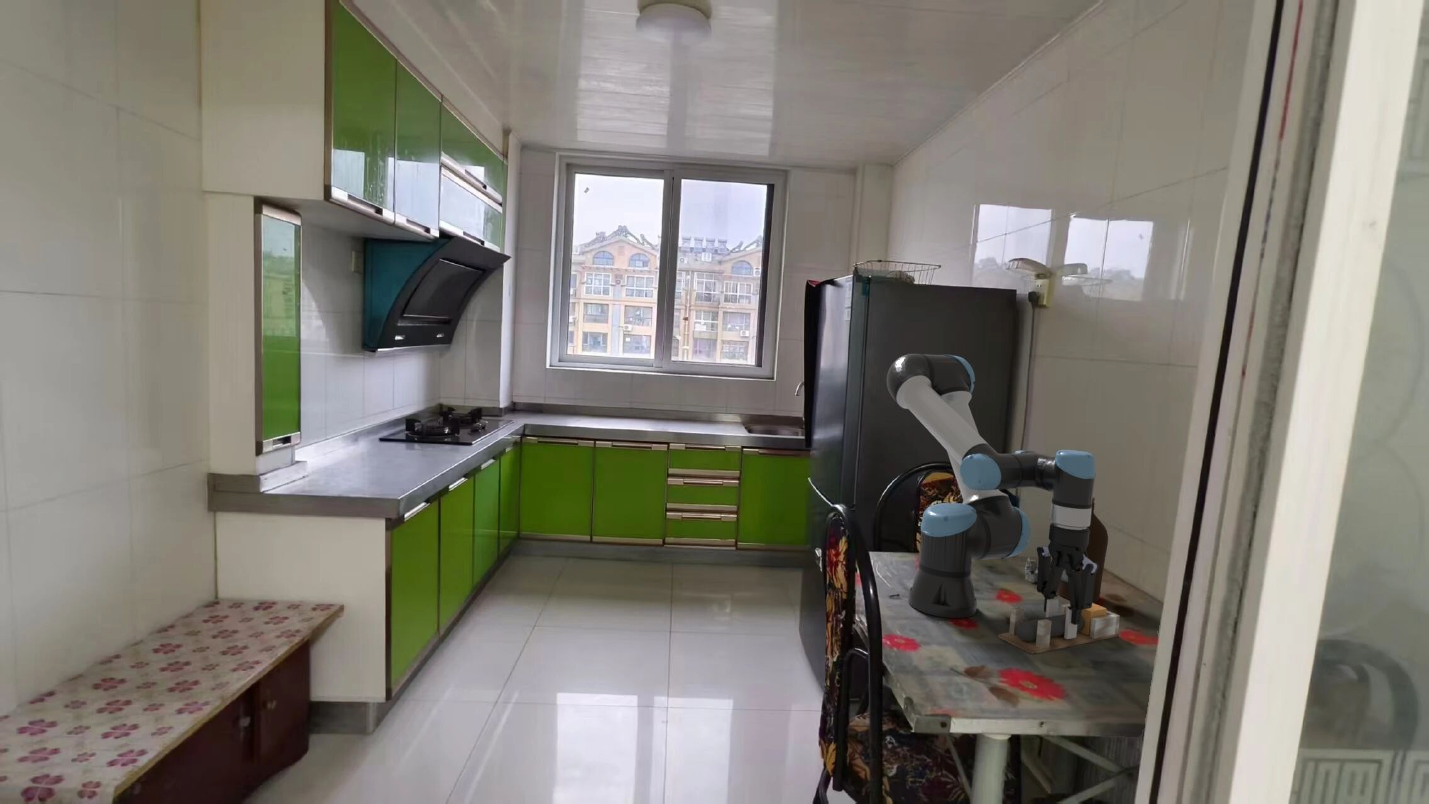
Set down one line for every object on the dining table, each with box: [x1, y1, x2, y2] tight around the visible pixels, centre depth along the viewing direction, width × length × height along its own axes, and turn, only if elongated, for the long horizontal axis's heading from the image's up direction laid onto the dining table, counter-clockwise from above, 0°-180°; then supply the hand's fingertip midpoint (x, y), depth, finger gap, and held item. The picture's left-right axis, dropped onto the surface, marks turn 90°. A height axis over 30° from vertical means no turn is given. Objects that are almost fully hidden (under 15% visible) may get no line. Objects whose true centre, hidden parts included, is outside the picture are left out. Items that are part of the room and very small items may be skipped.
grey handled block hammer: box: [1016, 602, 1108, 642], centre depth 152 cm, size 22×5×5 cm, turn 115°
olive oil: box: [1057, 496, 1109, 603], centre depth 177 cm, size 11×11×25 cm
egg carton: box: [1024, 557, 1051, 583], centre depth 191 cm, size 11×8×4 cm
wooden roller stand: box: [997, 603, 1120, 655], centre depth 153 cm, size 26×9×6 cm, turn 115°
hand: (1060, 633), depth 153 cm, fingers closed on grey handled block hammer, 4 cm apart
